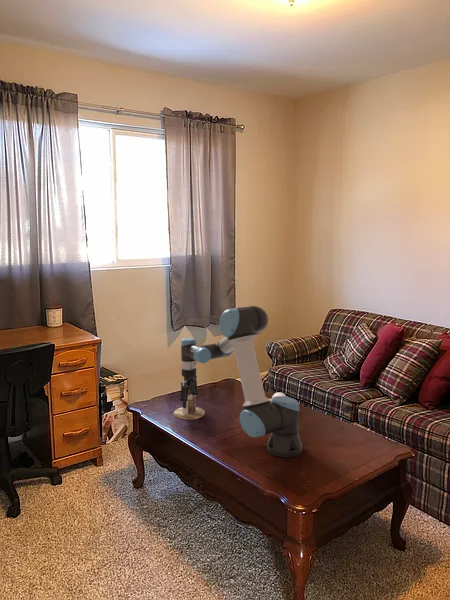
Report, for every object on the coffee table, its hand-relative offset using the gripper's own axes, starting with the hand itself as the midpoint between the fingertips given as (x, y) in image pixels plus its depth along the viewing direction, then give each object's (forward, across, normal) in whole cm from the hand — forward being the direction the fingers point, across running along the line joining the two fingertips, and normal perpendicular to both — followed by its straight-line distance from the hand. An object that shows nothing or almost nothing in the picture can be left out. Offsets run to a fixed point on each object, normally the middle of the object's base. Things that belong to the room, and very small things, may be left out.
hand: (189, 410), depth 254 cm
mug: (+2, +22, -40) cm, 46 cm away
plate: (+2, 0, 0) cm, 2 cm away
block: (+1, 0, 0) cm, 1 cm away
